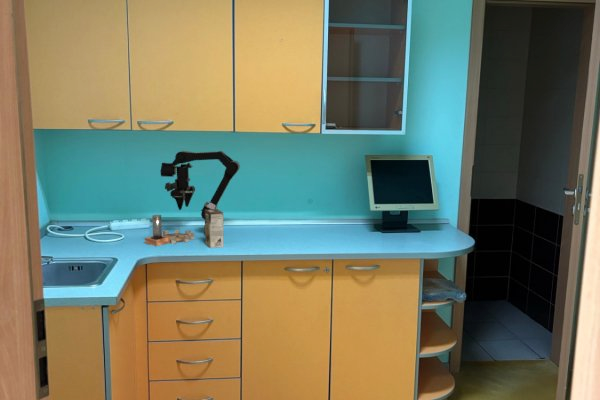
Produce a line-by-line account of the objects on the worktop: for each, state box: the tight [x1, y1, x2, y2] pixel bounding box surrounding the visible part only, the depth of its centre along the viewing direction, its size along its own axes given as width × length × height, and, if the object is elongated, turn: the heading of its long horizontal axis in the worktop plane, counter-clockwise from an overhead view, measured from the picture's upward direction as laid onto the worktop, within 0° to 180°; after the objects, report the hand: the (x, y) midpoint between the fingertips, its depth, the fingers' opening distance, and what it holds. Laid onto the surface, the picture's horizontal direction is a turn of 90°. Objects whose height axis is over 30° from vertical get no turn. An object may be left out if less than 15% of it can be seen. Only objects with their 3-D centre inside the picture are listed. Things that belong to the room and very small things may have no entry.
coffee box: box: [204, 208, 224, 249], centre depth 266 cm, size 9×6×16 cm
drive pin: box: [151, 214, 163, 240], centre depth 270 cm, size 4×4×13 cm
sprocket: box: [144, 229, 195, 247], centre depth 277 cm, size 23×17×3 cm
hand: (183, 208), depth 289 cm, fingers open, 9 cm apart
